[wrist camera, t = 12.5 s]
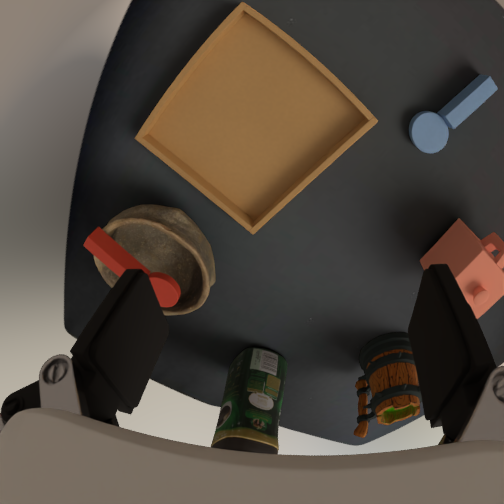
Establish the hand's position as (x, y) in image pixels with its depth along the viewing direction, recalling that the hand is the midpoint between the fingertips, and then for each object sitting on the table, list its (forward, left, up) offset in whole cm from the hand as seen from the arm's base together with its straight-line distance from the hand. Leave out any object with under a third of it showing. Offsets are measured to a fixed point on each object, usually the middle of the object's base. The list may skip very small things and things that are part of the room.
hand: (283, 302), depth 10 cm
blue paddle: (+7, +14, -21) cm, 26 cm away
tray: (-5, -1, -21) cm, 21 cm away
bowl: (-3, -20, -21) cm, 29 cm away
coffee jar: (+19, -27, -21) cm, 39 cm away
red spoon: (-4, -18, -14) cm, 23 cm away
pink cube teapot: (+21, +5, -21) cm, 30 cm away
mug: (+31, -12, -21) cm, 40 cm away
